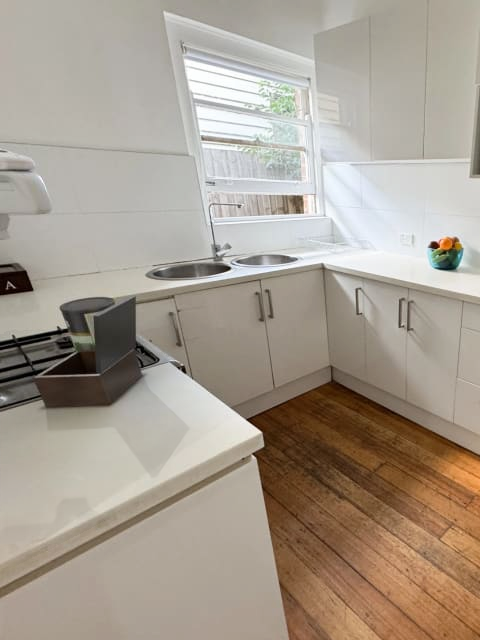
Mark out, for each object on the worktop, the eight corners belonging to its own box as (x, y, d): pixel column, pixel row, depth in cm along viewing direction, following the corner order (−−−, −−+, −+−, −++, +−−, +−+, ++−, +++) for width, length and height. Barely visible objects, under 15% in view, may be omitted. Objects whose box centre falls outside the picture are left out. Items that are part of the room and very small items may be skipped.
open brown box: (45, 407, 75) (32, 377, 72) (87, 377, 87) (77, 350, 84) (109, 405, 77) (99, 375, 74) (142, 375, 88) (134, 348, 85)
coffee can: (73, 368, 90) (52, 312, 84) (84, 351, 98) (66, 299, 93) (126, 360, 94) (109, 306, 89) (132, 345, 103) (117, 294, 97)
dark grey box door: (93, 315, 69) (98, 316, 69) (131, 295, 81) (135, 296, 81) (96, 373, 74) (100, 374, 74) (132, 346, 85) (136, 347, 85)
